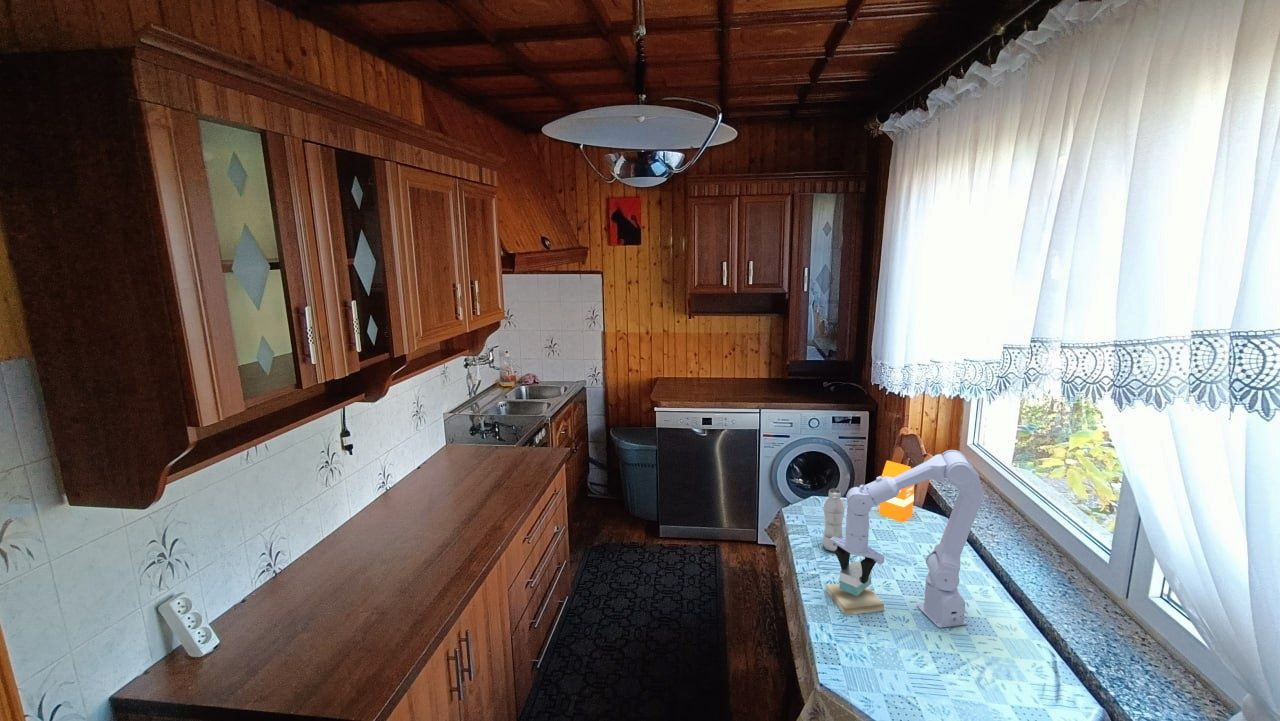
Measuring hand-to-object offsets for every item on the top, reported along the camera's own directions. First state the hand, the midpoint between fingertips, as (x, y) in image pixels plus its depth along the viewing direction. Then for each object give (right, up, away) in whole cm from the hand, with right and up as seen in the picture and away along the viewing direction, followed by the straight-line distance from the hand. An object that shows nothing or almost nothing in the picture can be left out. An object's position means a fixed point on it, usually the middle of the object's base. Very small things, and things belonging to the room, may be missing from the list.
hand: (855, 577), depth 152 cm
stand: (0, -7, +1) cm, 7 cm away
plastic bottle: (+4, -2, +29) cm, 29 cm away
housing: (0, -3, +1) cm, 3 cm away
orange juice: (+34, +3, +50) cm, 61 cm away
